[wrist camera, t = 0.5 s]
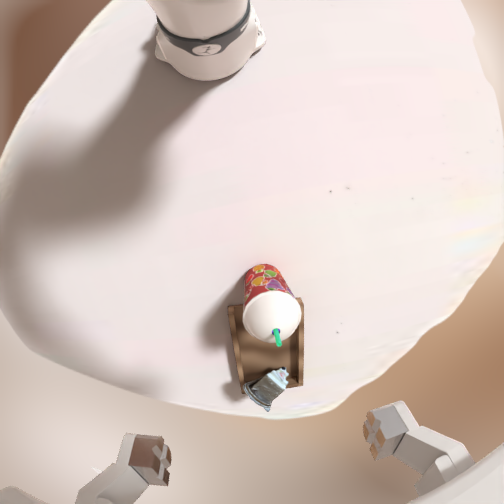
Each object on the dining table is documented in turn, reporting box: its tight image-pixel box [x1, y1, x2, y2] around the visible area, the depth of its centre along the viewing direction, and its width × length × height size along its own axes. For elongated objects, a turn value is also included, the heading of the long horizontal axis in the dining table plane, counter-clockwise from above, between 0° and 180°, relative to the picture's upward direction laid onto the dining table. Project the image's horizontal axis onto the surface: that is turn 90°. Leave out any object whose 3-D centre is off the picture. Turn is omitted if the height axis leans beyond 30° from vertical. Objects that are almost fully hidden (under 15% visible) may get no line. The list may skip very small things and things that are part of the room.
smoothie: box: [243, 264, 302, 347], centre depth 42 cm, size 8×8×20 cm
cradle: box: [228, 298, 304, 394], centre depth 55 cm, size 22×14×3 cm, turn 5°
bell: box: [243, 366, 289, 412], centre depth 52 cm, size 10×7×12 cm
